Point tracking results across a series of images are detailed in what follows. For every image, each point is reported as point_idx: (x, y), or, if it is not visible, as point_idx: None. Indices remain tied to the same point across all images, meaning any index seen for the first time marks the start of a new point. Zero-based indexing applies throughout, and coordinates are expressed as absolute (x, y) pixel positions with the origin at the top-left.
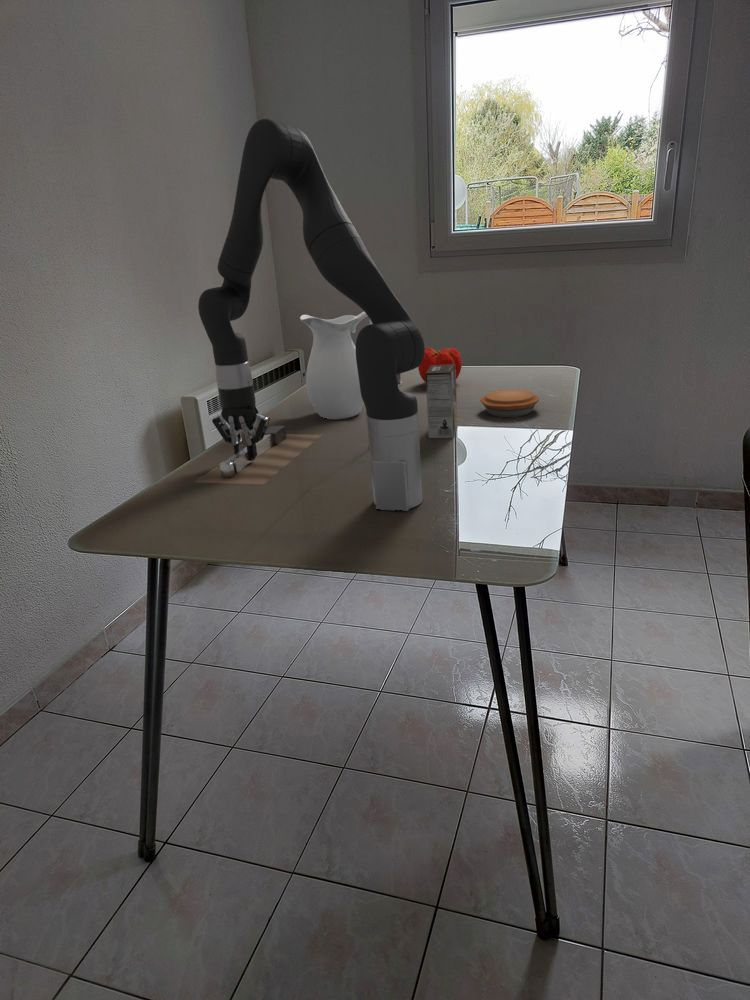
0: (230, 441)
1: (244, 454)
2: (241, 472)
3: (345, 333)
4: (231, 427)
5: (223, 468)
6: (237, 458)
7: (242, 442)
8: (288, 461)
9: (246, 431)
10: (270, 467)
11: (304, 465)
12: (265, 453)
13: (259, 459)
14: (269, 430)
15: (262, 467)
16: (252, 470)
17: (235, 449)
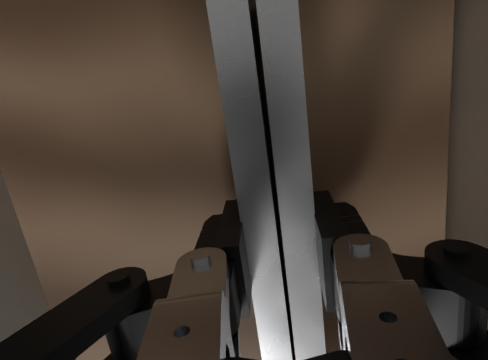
0: (415, 261)
1: (233, 170)
2: (200, 35)
3: None
4: (410, 350)
5: None
6: (220, 55)
7: (327, 311)
8: (44, 263)
9: (164, 323)
10: (76, 160)
11: (18, 287)
12: (255, 349)
13: None
14: None
15: (124, 150)
16: (150, 86)
17: (353, 228)
